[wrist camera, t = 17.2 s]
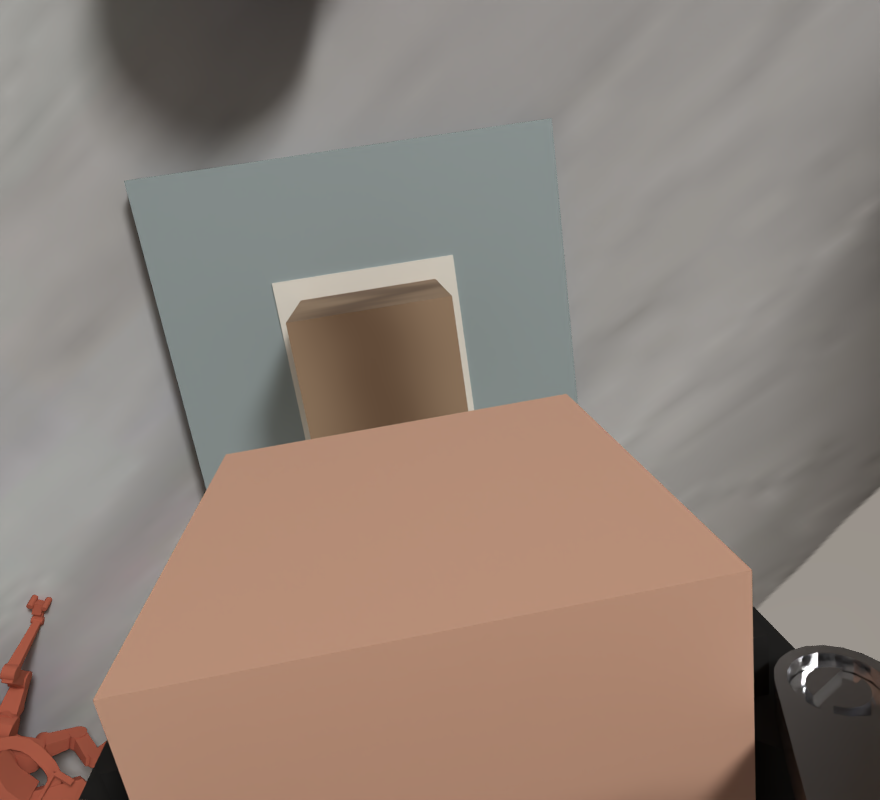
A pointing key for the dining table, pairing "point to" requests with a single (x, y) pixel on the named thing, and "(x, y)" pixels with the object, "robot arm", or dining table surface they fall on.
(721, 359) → the dining table surface
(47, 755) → the beetle
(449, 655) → the terracotta block
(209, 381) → the board
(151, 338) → the dining table surface
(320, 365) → the walnut block
